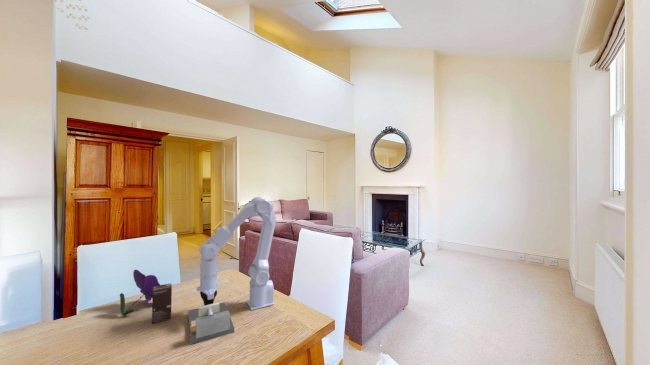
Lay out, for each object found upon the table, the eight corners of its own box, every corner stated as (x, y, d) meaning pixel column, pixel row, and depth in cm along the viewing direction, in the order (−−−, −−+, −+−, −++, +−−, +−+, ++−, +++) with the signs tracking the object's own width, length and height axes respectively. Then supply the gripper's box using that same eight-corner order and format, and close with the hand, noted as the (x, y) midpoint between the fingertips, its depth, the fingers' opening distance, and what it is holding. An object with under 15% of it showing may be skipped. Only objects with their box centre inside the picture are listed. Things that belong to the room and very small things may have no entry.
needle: (190, 329, 84) (190, 321, 84) (215, 322, 88) (215, 315, 88) (190, 331, 83) (190, 323, 83) (215, 324, 87) (215, 317, 87)
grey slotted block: (198, 314, 92) (198, 306, 92) (218, 310, 96) (218, 302, 96) (200, 326, 85) (200, 318, 85) (222, 321, 89) (222, 312, 89)
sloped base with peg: (188, 314, 96) (188, 297, 96) (224, 305, 103) (224, 290, 103) (190, 344, 79) (191, 324, 79) (234, 332, 86) (234, 313, 86)
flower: (145, 330, 95) (173, 298, 106) (125, 304, 88) (157, 273, 99) (118, 322, 99) (148, 293, 110) (97, 297, 92) (131, 268, 103)
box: (152, 324, 89) (152, 290, 89) (152, 318, 93) (152, 286, 93) (171, 319, 93) (171, 287, 92) (171, 313, 96) (171, 282, 96)
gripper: (195, 270, 99) (195, 304, 100) (198, 283, 87) (198, 322, 87) (214, 267, 103) (214, 300, 103) (220, 279, 90) (220, 317, 91)
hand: (208, 310), depth 95 cm, fingers closed
